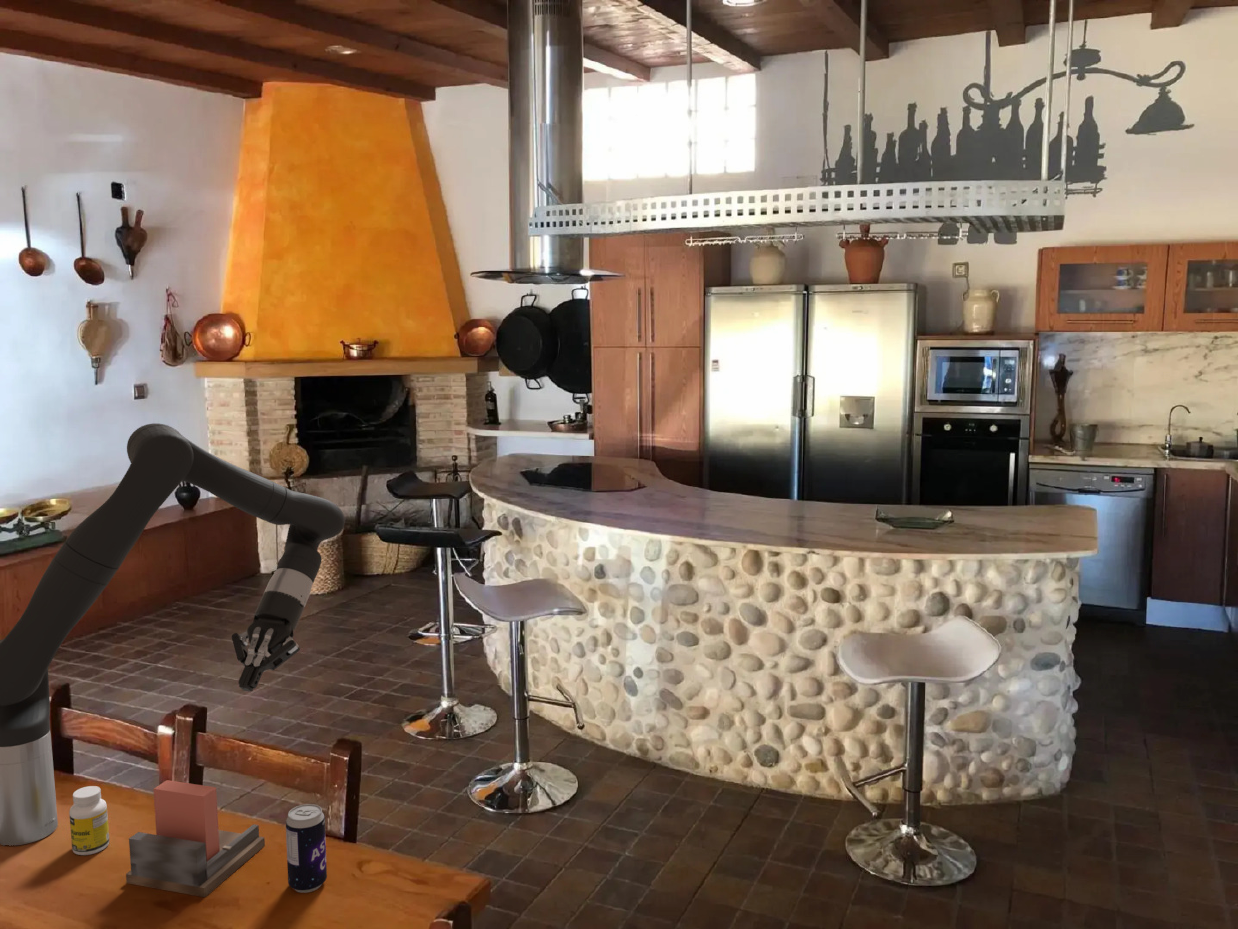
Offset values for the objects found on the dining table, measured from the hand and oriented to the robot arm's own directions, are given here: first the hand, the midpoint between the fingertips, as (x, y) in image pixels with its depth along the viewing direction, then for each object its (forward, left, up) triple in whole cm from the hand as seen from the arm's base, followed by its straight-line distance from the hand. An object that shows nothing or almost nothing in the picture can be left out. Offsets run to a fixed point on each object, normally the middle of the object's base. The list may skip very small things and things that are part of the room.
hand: (245, 689), depth 165 cm
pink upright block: (0, -16, -22) cm, 27 cm away
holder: (0, -14, -24) cm, 28 cm away
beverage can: (+20, -15, -24) cm, 35 cm away
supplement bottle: (-20, -15, -24) cm, 34 cm away
